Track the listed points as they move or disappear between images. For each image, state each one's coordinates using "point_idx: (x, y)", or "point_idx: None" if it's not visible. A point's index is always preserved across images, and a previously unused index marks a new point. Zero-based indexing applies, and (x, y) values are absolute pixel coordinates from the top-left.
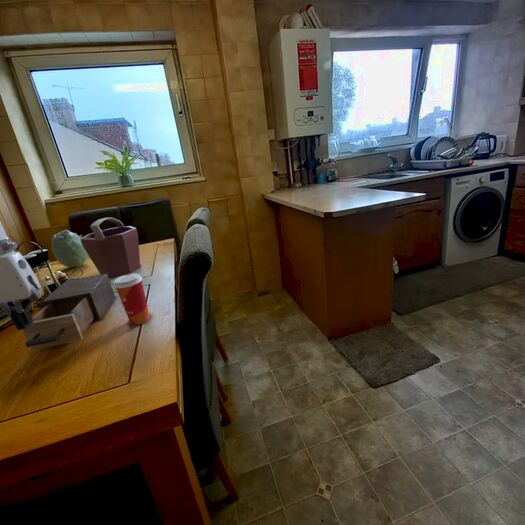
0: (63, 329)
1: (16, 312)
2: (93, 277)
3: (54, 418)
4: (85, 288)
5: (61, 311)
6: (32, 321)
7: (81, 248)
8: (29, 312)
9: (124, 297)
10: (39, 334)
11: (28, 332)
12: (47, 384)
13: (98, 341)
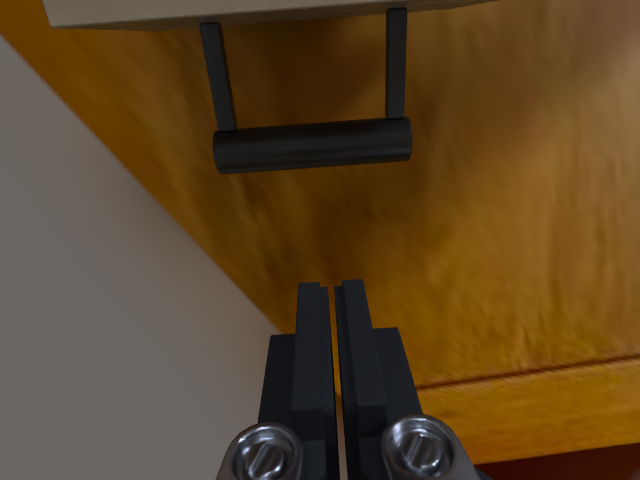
0: (405, 26)
1: (329, 477)
2: None
3: (480, 415)
4: None
5: None
6: (362, 285)
7: None
8: (413, 386)
9: None
10: (220, 30)
11: (133, 27)
12: (395, 296)
13: (539, 26)
